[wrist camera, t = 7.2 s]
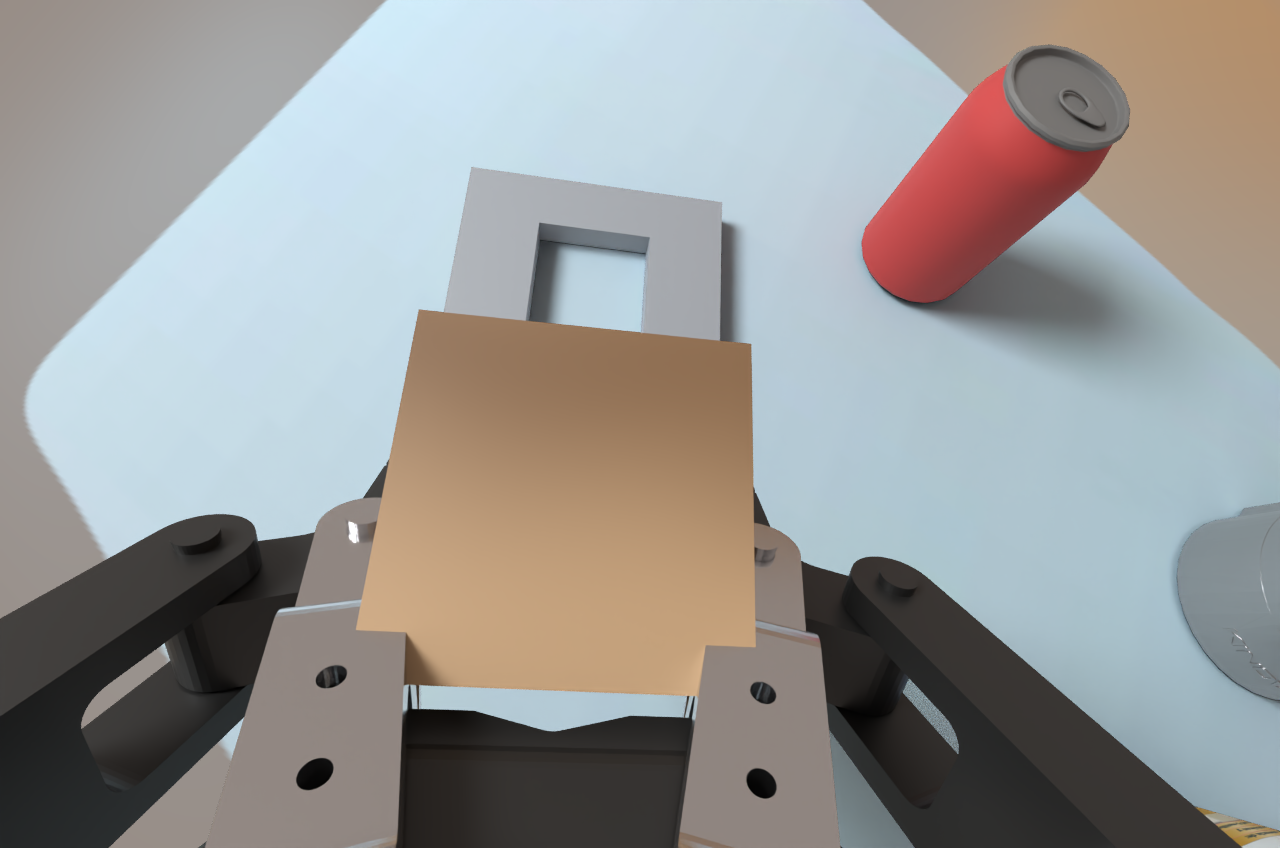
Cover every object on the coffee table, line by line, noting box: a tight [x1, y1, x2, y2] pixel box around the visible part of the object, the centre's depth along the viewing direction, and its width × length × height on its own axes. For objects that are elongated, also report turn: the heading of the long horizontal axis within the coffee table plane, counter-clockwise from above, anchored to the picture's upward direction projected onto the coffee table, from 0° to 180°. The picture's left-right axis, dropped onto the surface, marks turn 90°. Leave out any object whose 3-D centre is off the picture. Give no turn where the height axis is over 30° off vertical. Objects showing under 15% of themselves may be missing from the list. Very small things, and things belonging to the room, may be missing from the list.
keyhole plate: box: [444, 167, 722, 341], centre depth 30 cm, size 20×14×2 cm
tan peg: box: [356, 310, 756, 696], centre depth 11 cm, size 4×4×10 cm
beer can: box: [862, 45, 1130, 303], centre depth 30 cm, size 7×7×12 cm
